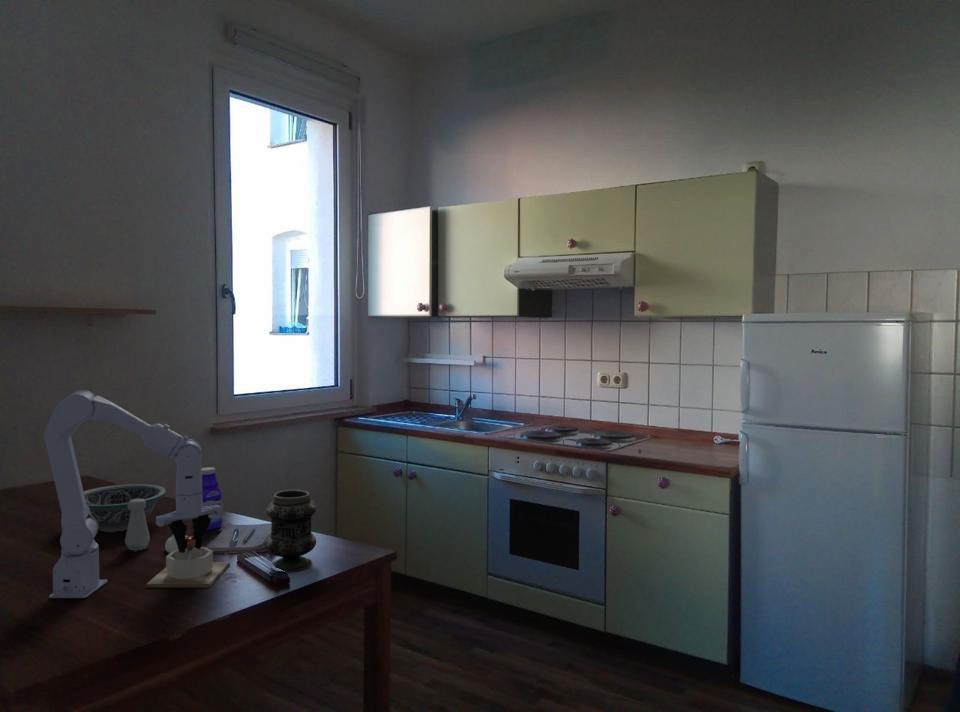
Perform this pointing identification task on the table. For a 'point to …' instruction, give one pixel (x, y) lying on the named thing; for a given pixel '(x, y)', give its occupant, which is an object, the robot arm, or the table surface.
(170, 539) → the garlic bulb
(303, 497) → the apothecary jar
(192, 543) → the plunger
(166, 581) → the board
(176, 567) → the press carafe
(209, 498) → the bottle
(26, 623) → the table surface
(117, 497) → the bowl
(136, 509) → the salt shaker
